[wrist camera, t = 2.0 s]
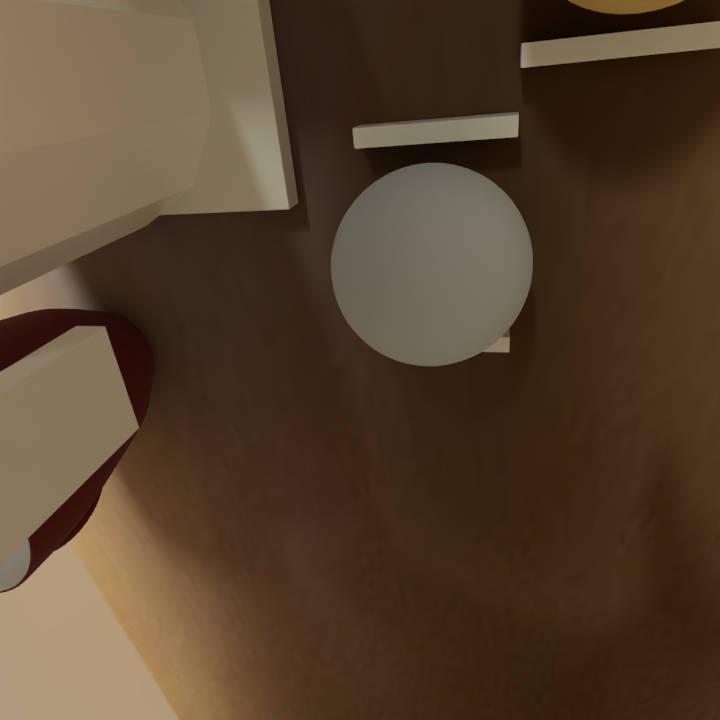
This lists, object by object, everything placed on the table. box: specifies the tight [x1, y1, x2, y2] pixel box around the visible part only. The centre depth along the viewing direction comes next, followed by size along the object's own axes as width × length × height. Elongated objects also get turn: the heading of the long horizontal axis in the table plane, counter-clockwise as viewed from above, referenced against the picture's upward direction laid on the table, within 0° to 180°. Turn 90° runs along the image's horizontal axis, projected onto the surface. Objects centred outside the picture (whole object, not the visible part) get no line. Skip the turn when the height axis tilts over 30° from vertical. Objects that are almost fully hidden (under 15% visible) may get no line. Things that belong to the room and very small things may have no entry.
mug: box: [0, 309, 154, 593], centre depth 21 cm, size 11×8×10 cm
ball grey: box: [331, 163, 533, 366], centre depth 16 cm, size 6×6×6 cm
